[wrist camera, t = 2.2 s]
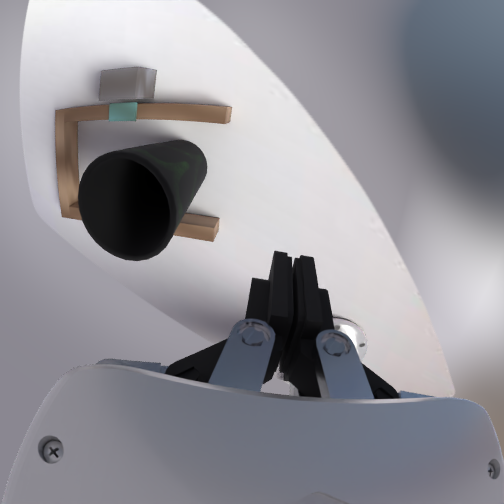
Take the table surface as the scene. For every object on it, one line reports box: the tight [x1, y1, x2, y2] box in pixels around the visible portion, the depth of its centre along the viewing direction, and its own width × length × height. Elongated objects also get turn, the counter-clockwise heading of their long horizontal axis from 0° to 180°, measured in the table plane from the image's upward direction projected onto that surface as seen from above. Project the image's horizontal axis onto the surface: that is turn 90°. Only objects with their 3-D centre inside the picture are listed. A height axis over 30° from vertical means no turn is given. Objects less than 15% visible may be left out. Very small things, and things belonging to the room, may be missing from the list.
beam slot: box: [55, 67, 232, 242], centre depth 24 cm, size 17×20×4 cm
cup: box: [78, 140, 207, 261], centre depth 22 cm, size 8×8×12 cm
